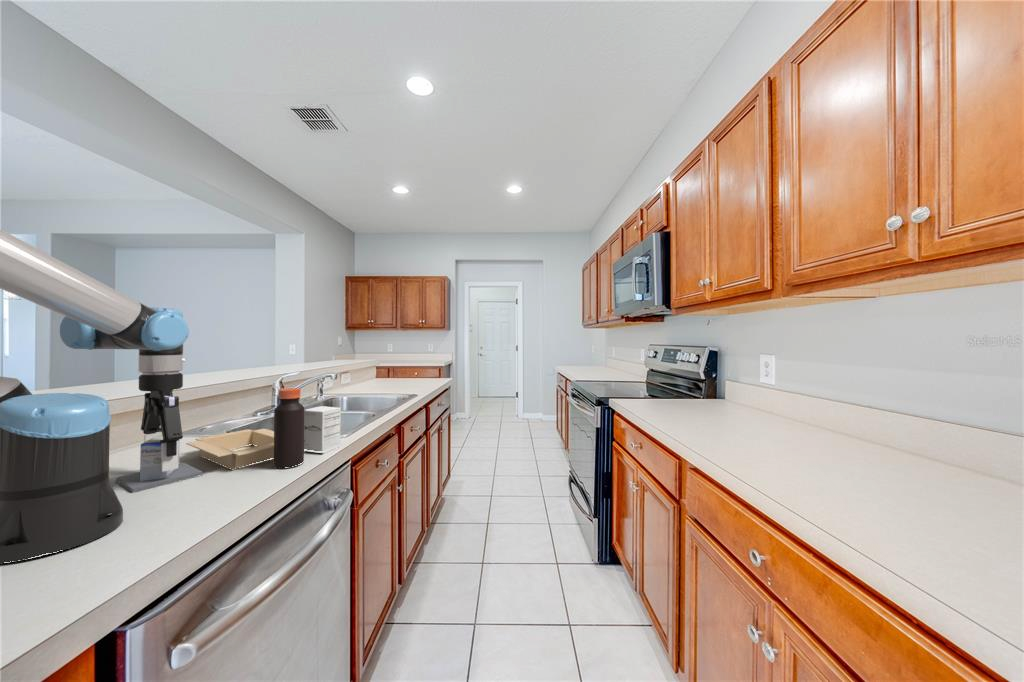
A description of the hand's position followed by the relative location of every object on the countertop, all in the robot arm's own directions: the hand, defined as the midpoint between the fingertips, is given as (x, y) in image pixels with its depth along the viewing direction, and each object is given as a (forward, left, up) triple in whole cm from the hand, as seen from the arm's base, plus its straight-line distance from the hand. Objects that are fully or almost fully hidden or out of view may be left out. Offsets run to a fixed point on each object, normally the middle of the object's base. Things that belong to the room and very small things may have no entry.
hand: (160, 464), depth 85 cm
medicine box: (0, 0, -2) cm, 2 cm away
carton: (+2, -18, -3) cm, 18 cm away
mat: (0, 0, -3) cm, 3 cm away
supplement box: (-11, -33, -3) cm, 35 cm away
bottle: (-16, -21, -3) cm, 27 cm away
